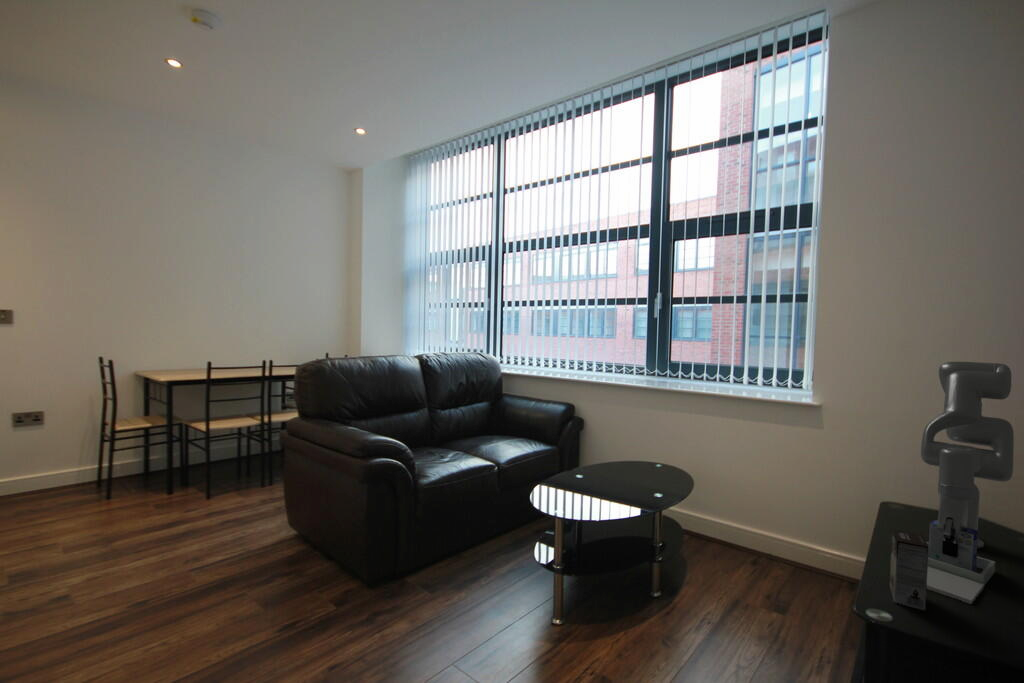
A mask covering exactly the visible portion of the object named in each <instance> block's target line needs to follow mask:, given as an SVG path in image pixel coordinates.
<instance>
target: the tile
mask: <svg viewBox="0 0 1024 683" xmlns="http://www.w3.org/2000/svg"><path fill="white" fill-rule="evenodd" d="M984 589H985V585H984V584H981V583H978V582H975V581H972V580H969V579H966V578H963V577H960V576H957V575H953V574H950V573H947V572H944V571H941V570H938V569H935V568H932V567H928V570H927V588H926V590H929V591H932V592H935V593H938V594H940V595H943V596H946V597H949V598H952V599H954V598H955V600H957V599H958V600H957V601H960V600H961V602H963V603H966V604H969V605H973V603H974V602H975V600H976V599H977V598H978V597H979V595H980V594H981V593H982V591H983V590H984ZM976 597H977V598H976ZM973 601H974V602H973Z"/></svg>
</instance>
